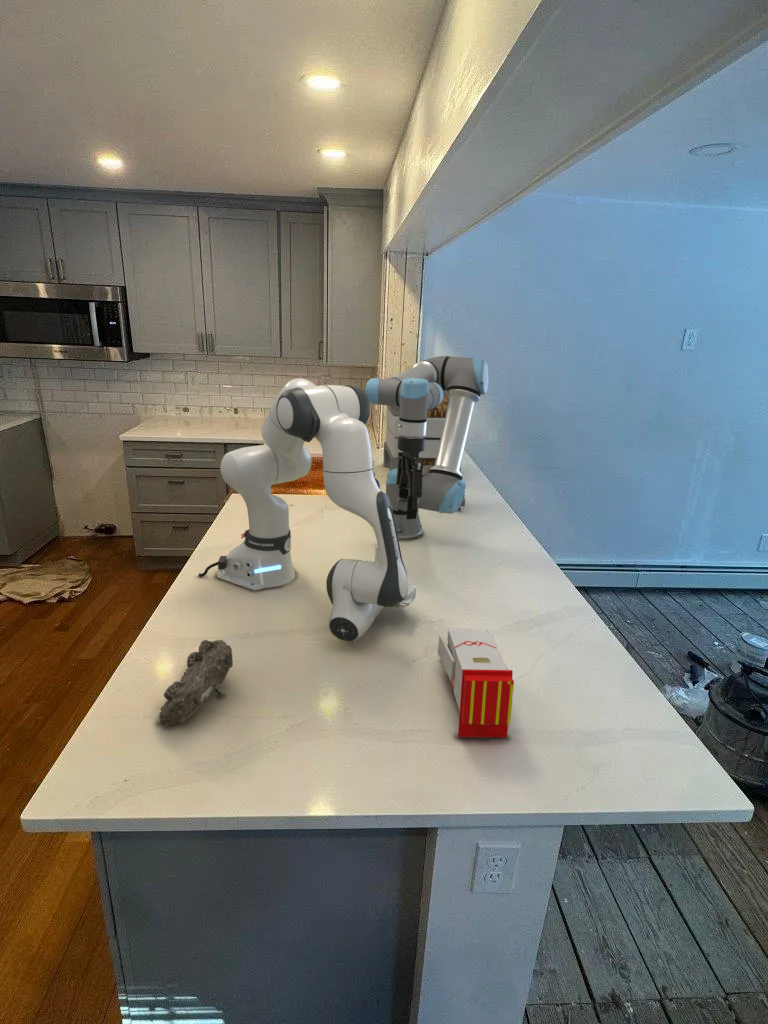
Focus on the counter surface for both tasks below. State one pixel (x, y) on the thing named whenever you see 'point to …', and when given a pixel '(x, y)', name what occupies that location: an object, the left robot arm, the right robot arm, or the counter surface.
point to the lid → (403, 503)
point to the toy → (478, 682)
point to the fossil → (197, 681)
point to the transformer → (431, 438)
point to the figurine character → (462, 503)
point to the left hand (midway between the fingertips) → (385, 576)
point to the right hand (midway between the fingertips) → (406, 514)
